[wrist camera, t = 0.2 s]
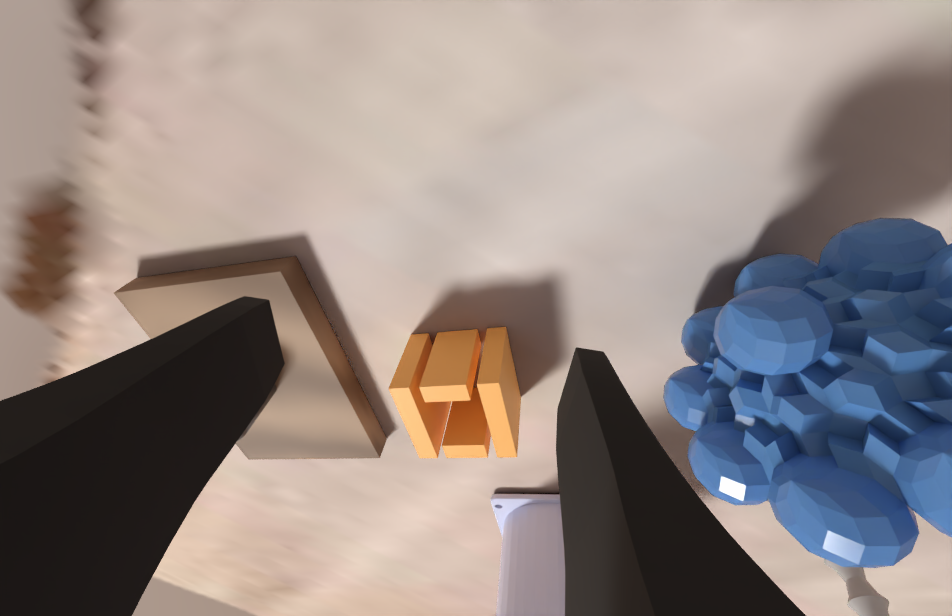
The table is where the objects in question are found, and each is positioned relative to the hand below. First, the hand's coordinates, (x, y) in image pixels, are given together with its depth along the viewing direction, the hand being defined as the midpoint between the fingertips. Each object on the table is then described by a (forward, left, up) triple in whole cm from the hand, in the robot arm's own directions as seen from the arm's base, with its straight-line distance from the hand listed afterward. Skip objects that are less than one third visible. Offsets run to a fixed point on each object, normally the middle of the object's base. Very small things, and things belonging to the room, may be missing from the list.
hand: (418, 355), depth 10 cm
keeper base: (-8, +14, -10) cm, 19 cm away
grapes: (-4, -11, -10) cm, 15 cm away
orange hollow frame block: (-9, +2, -10) cm, 14 cm away
